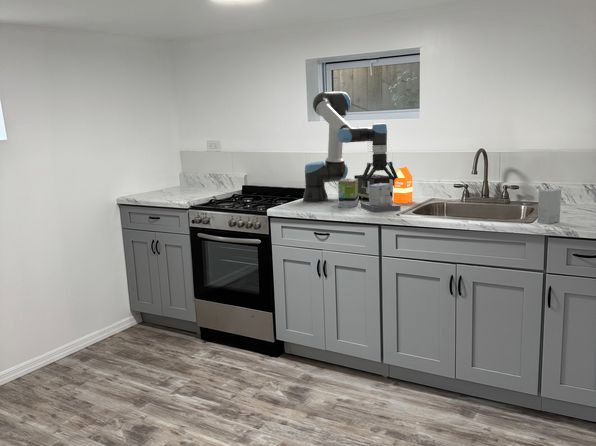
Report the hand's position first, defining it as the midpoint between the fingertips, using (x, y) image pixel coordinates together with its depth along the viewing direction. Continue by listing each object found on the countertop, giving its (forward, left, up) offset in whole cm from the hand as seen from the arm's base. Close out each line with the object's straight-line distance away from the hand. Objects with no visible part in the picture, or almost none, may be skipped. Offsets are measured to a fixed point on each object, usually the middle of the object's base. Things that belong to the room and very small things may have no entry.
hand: (379, 192), depth 299 cm
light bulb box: (0, 0, -6) cm, 6 cm away
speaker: (-34, +10, -9) cm, 36 cm away
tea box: (-20, -11, -9) cm, 24 cm away
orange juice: (-16, +21, -9) cm, 28 cm away
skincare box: (+69, +52, -9) cm, 87 cm away
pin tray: (0, 0, -9) cm, 9 cm away
